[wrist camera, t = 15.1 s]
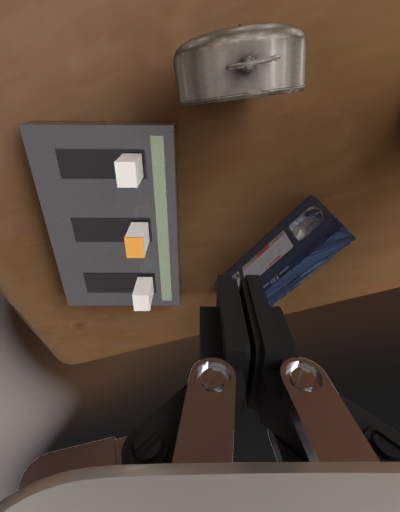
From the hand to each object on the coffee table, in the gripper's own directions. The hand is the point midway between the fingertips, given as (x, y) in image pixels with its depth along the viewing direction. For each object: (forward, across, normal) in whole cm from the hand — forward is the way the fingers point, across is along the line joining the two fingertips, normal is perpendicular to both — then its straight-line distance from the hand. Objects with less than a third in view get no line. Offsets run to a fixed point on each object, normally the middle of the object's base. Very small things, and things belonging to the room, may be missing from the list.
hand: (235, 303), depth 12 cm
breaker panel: (+27, +12, +8) cm, 31 cm away
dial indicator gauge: (+27, -2, -9) cm, 29 cm away
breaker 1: (+24, +8, 0) cm, 25 cm away
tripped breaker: (+24, +8, +8) cm, 26 cm away
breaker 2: (+24, +9, +16) cm, 30 cm away
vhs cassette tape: (+27, -8, +12) cm, 31 cm away
